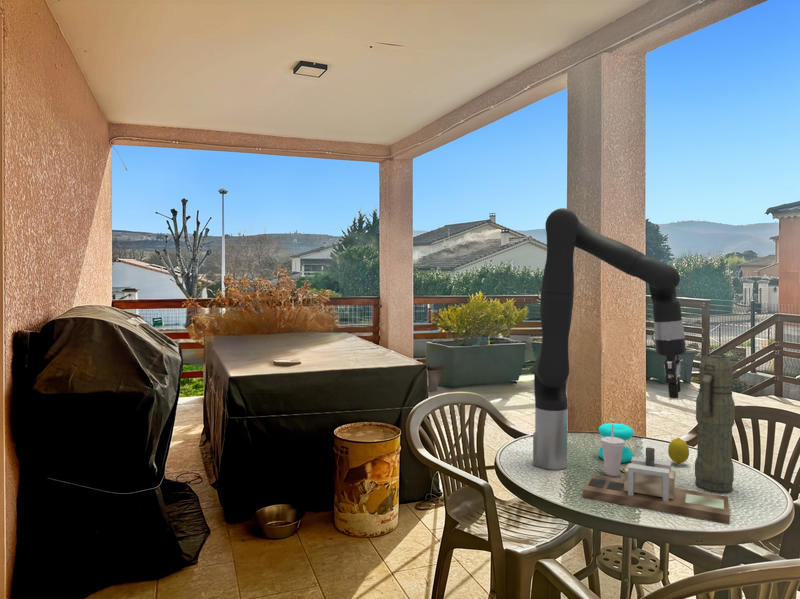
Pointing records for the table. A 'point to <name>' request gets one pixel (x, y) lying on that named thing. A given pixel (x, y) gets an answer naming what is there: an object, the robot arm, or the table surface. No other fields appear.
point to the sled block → (650, 479)
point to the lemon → (678, 451)
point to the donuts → (619, 432)
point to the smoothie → (612, 453)
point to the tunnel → (659, 470)
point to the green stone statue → (715, 425)
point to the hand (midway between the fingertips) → (675, 394)
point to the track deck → (660, 499)
